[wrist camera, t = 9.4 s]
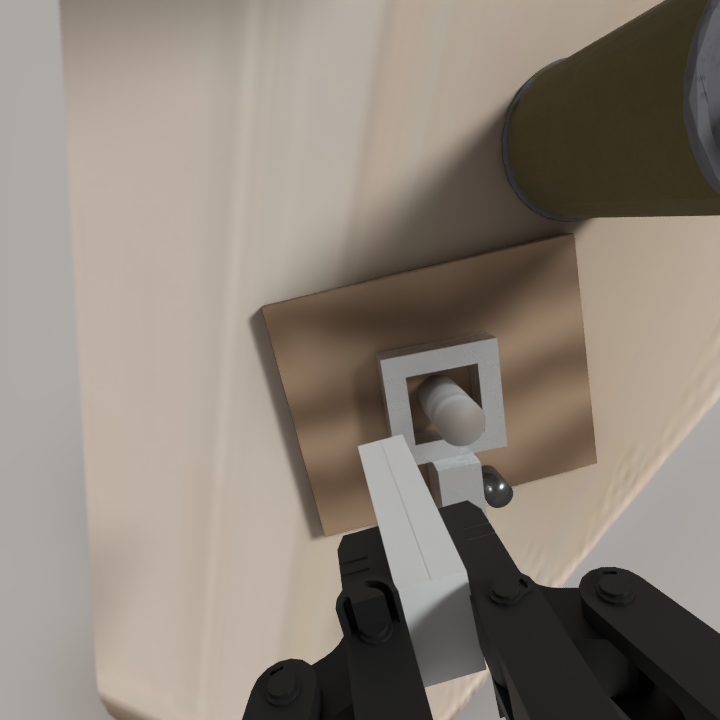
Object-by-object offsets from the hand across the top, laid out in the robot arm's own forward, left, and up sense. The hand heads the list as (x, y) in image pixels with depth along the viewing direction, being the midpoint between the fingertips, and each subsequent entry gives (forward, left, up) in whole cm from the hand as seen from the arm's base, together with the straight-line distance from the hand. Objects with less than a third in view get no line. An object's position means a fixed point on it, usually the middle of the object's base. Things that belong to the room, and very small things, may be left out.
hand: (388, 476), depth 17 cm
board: (+5, +7, -21) cm, 22 cm away
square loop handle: (+10, +6, -19) cm, 22 cm away
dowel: (+13, +9, -21) cm, 26 cm away
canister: (-10, +19, -21) cm, 30 cm away
